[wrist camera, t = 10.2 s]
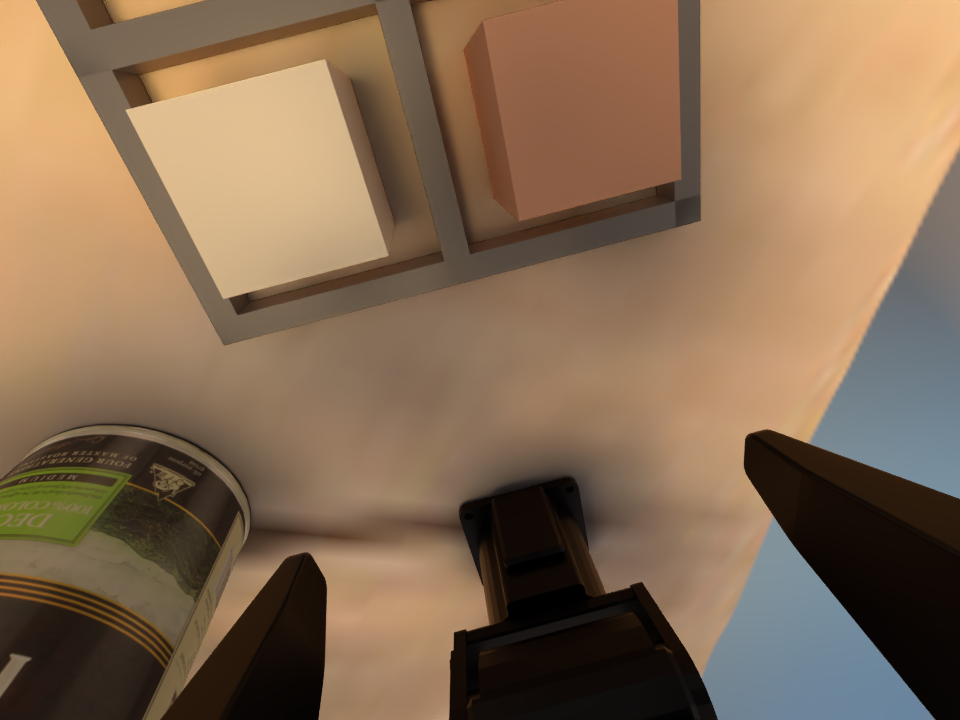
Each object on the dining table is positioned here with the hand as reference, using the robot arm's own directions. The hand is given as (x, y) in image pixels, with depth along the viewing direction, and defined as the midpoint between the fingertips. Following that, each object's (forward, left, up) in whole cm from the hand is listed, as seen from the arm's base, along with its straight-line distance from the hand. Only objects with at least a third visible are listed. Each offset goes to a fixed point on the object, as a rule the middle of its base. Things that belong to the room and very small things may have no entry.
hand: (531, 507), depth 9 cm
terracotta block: (+6, -4, -12) cm, 14 cm away
